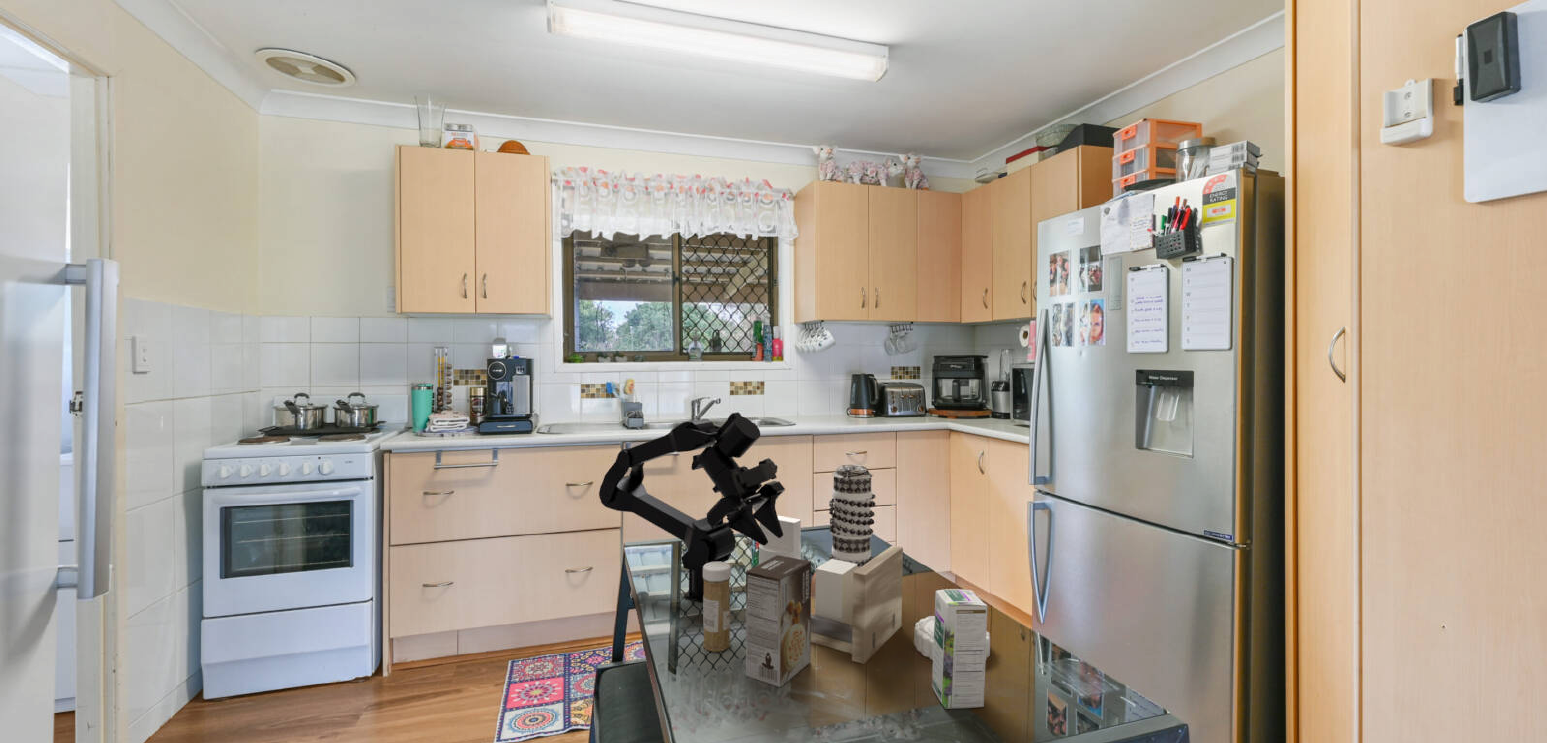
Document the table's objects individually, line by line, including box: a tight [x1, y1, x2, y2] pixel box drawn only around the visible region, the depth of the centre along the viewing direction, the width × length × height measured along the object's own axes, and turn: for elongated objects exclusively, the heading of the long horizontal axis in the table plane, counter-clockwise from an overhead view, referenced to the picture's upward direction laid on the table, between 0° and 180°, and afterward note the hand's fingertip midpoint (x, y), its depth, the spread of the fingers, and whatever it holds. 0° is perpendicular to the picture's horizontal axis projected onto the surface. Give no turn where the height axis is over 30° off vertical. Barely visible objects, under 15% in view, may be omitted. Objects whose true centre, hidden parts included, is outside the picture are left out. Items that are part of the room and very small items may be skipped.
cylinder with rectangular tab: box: [758, 514, 802, 565], centre depth 139 cm, size 9×9×12 cm
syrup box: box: [931, 588, 988, 710], centre depth 91 cm, size 6×6×14 cm
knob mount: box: [811, 545, 904, 665], centre depth 110 cm, size 12×16×14 cm
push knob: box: [811, 559, 858, 625], centre depth 112 cm, size 6×6×10 cm
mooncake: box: [913, 615, 991, 661], centre depth 106 cm, size 12×12×4 cm
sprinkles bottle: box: [702, 561, 732, 653], centre depth 105 cm, size 5×5×14 cm
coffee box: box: [745, 555, 812, 688], centre depth 98 cm, size 9×6×16 cm
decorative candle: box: [828, 464, 876, 569], centre depth 129 cm, size 9×9×25 cm
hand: (774, 540), depth 118 cm, fingers open, 5 cm apart
